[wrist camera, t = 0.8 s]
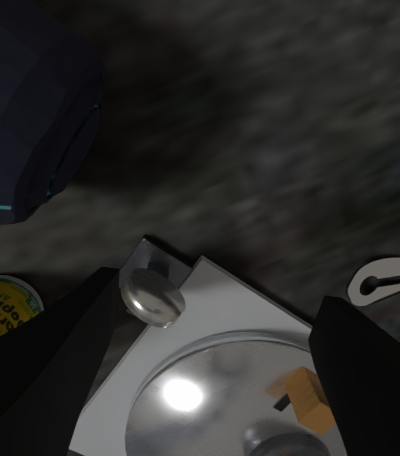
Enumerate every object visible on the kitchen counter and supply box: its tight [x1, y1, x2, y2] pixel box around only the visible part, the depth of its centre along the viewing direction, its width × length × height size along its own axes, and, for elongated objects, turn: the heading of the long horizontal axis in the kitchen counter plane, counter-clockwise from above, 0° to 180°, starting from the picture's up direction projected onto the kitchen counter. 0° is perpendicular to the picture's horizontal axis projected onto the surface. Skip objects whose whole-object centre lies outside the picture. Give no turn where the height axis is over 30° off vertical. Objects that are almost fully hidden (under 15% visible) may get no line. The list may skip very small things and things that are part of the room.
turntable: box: [125, 332, 347, 456], centre depth 24 cm, size 18×18×4 cm
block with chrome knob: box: [119, 235, 193, 328], centre depth 19 cm, size 4×4×6 cm
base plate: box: [69, 255, 313, 456], centre depth 26 cm, size 20×22×1 cm
